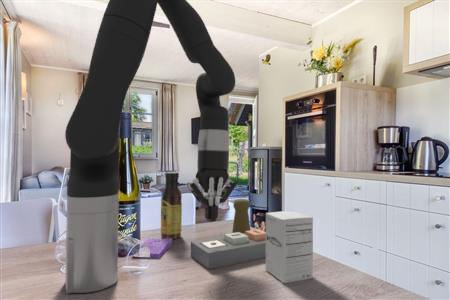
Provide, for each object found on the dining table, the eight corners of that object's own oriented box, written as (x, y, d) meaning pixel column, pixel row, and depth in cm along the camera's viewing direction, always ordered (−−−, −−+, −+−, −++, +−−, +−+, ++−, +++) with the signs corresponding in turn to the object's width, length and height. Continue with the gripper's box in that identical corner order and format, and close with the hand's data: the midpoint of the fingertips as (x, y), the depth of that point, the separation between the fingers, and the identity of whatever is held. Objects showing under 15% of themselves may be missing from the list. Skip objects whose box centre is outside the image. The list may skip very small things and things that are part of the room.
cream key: (209, 258, 67) (209, 247, 67) (201, 252, 71) (201, 242, 71) (225, 255, 69) (225, 244, 69) (217, 249, 73) (217, 239, 73)
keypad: (208, 269, 64) (208, 253, 64) (190, 255, 72) (190, 241, 72) (280, 253, 74) (280, 240, 74) (257, 243, 82) (257, 231, 82)
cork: (251, 231, 96) (251, 198, 96) (250, 236, 90) (250, 200, 90) (232, 231, 96) (232, 197, 96) (231, 236, 90) (231, 200, 90)
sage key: (233, 248, 70) (233, 238, 70) (224, 243, 74) (224, 233, 74) (248, 245, 72) (248, 235, 72) (238, 241, 76) (238, 231, 76)
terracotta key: (254, 244, 73) (254, 234, 73) (245, 240, 77) (245, 230, 77) (268, 242, 75) (268, 232, 75) (258, 237, 79) (258, 228, 79)
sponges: (172, 244, 83) (172, 238, 83) (159, 260, 70) (159, 252, 70) (148, 244, 83) (148, 237, 83) (131, 260, 71) (131, 252, 71)
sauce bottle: (159, 235, 91) (160, 171, 91) (179, 233, 93) (180, 171, 93) (161, 241, 85) (162, 172, 85) (183, 239, 86) (183, 172, 87)
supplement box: (264, 270, 63) (264, 212, 63) (293, 265, 66) (293, 210, 66) (282, 284, 56) (282, 219, 57) (314, 278, 59) (314, 216, 59)
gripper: (195, 147, 64) (192, 226, 64) (244, 150, 71) (242, 221, 70) (182, 148, 71) (179, 220, 70) (228, 150, 77) (226, 216, 77)
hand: (211, 220), depth 70 cm, fingers closed
